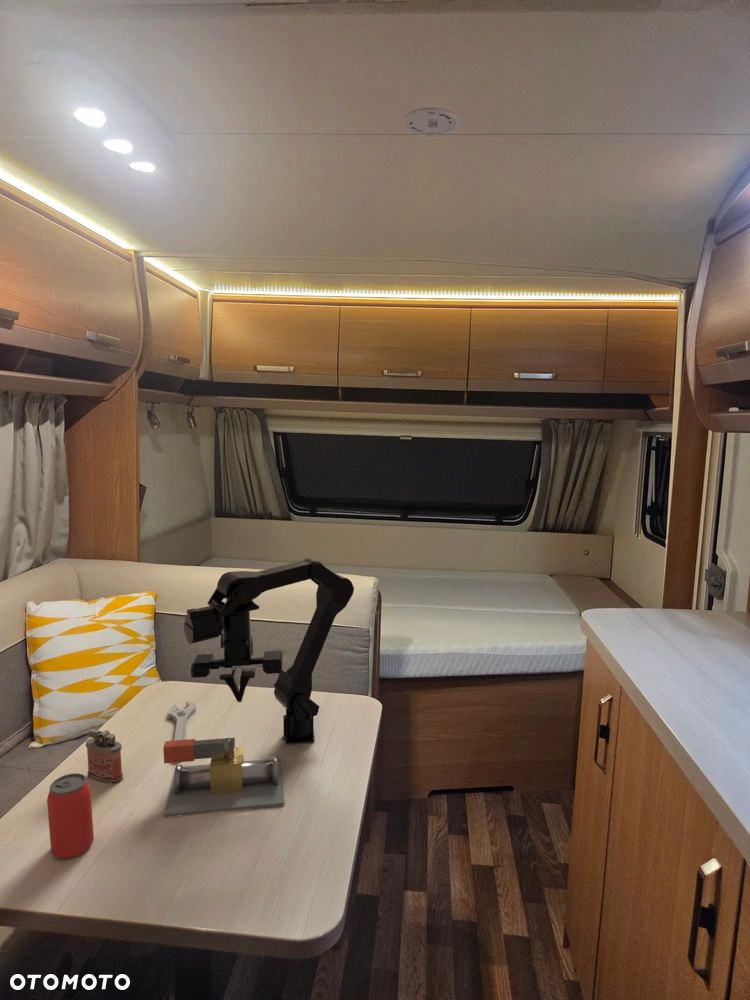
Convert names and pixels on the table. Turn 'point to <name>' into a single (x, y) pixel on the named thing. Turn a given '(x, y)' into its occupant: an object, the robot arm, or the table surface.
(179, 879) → the table surface
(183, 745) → the lever
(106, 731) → the lighter
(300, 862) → the table surface
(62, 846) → the beer can
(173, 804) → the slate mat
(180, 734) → the adjustable wrench
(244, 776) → the valve body
